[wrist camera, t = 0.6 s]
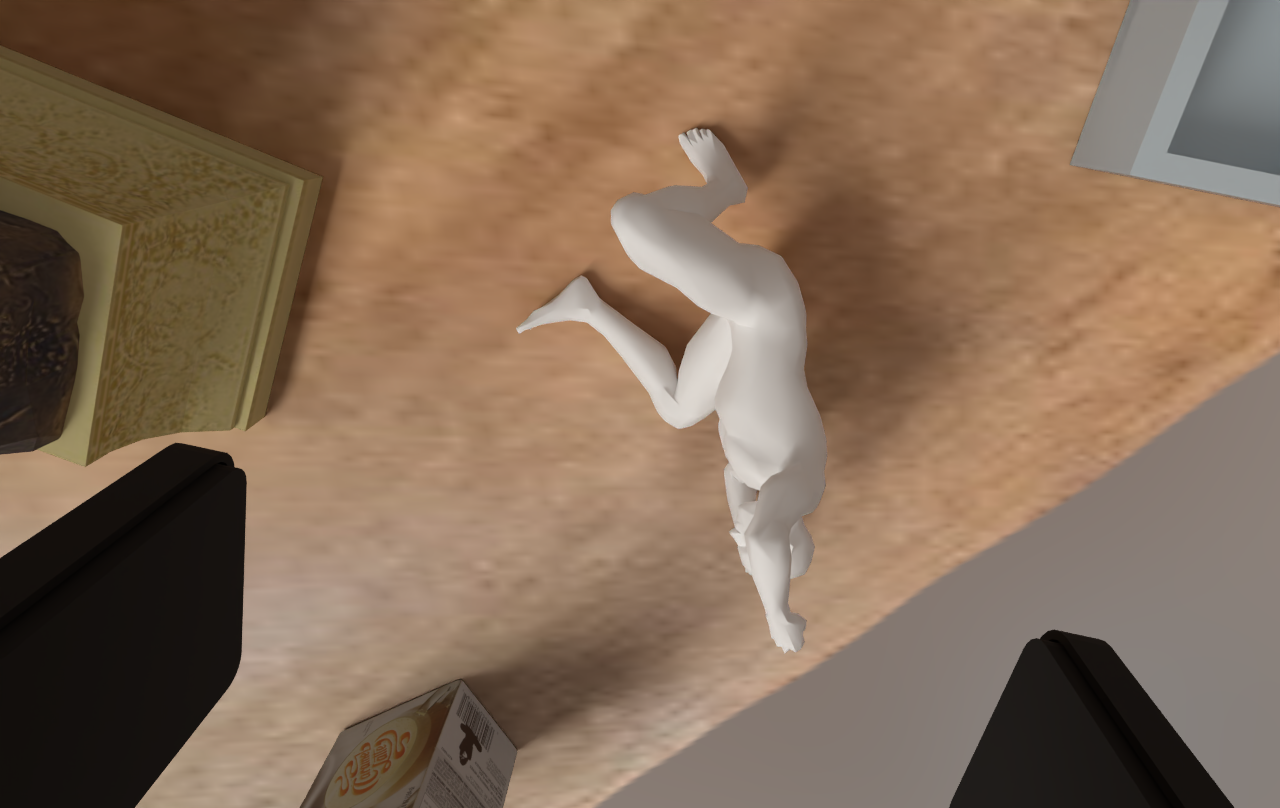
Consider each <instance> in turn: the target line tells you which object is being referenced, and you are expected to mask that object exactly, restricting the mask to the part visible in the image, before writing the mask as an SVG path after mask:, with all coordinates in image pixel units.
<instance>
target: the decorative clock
mask: <svg viewBox="0 0 1280 808" xmlns="http://www.w3.org/2000/svg"><path fill="white" fill-rule="evenodd" d="M322 178H323V177H322V176H320V175H317V174H315V173H312V172H310V171H307V170H305V169H302V168H300V167H298V166H295V165H293V164H290V163H288V162H285V161H283V160H280V159H278V158H275V157H273V156H271V155H268V154H266V153H263V152H261V151H258V150H256V149H253V148H251V147H249V146H246V145H244V144H241V143H239V142H236V141H234V140H231V139H229V138H226V137H224V136H222V135H219V134H217V133H214V132H212V131H209V130H207V129H204V128H202V127H200V126H197V125H195V124H192V123H190V122H187V121H185V120H182V119H180V118H177V117H175V116H173V115H170V114H168V113H165V112H163V111H160V110H158V109H155V108H153V107H150V106H148V105H146V104H143V103H141V102H138V101H136V100H133V99H131V98H128V97H126V96H124V95H121V94H119V93H116V92H114V91H111V90H109V89H106V88H104V87H101V86H99V85H97V84H94V83H92V82H89V81H87V80H84V79H82V78H79V77H77V76H75V75H72V74H70V73H67V72H65V71H62V70H60V69H57V68H55V67H52V66H50V65H48V64H45V63H43V62H40V61H38V60H35V59H33V58H30V57H28V56H26V55H23V54H21V53H18V52H16V51H13V50H11V49H8V48H6V47H3V46H1V45H0V454H10V453H20V452H31V451H34V450H40V451H43V452H46V453H48V454H51V455H54V456H56V457H59V458H62V459H65V460H67V461H70V462H73V463H75V464H78V465H81V466H84V467H86V466H88V465H89V464H91V463H93V462H94V461H96V460H98V459H99V458H101V457H103V456H104V455H106V454H107V453H109V452H111V451H114V450H116V449H119V448H121V447H124V446H127V445H129V444H132V443H135V442H137V441H140V440H142V439H148V438H153V437H158V436H164V435H169V434H174V433H180V432H200V431H226V430H231V429H233V428H234V427H235V428H238V429H240V430H243V431H246V430H248V429H249V428H250V427H252V426H253V425H254V424H256V423H257V422H258V421H260V420H261V419H262V418H264V417H265V413H266V409H267V405H268V400H269V396H270V392H271V388H272V384H273V380H274V376H275V372H276V368H277V363H278V359H279V355H280V351H281V347H282V343H283V339H284V335H285V331H286V326H287V322H288V318H289V314H290V310H291V306H292V302H293V298H294V294H295V289H296V285H297V281H298V277H299V273H300V269H301V265H302V261H303V257H304V252H305V248H306V244H307V240H308V236H309V232H310V228H311V224H312V220H313V215H314V211H315V207H316V203H317V199H318V195H319V191H320V187H321V183H322Z"/></svg>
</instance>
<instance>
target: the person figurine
mask: <svg viewBox="0 0 1280 808" xmlns="http://www.w3.org/2000/svg"><path fill="white" fill-rule="evenodd" d="M692 131H693V132H692ZM699 131H700V133H699ZM699 131H698V128H695V129H693V130H689V131H688V132H687V135H688V137H687V136H686V134H685V133H682V134H680V135H679V141H680V144H681V146H682V148H683V149H684V151H685V152H686V154H687V156H688V158H689V159H690V161H691V162H692V164H693V165H694V166H695V167H696V168H697V169H698V170H699V171H700V173H701V174H702V175H703V177H704V179H705V181H706V182H707V184H706V185H704V186H702V187H696V186H678V185H674V186H668V187H666V188H663V189H660V190H657V191H654V192H651V193H649V194H646V195H644V194H640V193H636V192H633V193H631V194H629V195H627V196H625V197H623V198H621V199H619V200H617V202H616V203H615V205H614V206H613V208H612V209H611V225H612V227H613V229H614V230H615V232H616V234H617V236H618V238H619V240H620V242H621V244H622V246H623V248H624V250H625V252H626V253H627V255H628V257H629V258H630V259H631V260H632V261H633V262H634V263H635V264H636V265H637V266H638V267H639V268H640V269H641V270H643V271H645V272H647V273H649V274H651V275H653V276H655V277H657V278H659V279H661V280H662V281H664V282H666V283H668V284H670V285H672V286H674V287H676V288H677V289H679V290H680V291H681V292H682V293H683V294H684V295H686V296H687V297H688V298H689V299H690V300H691V301H692V302H694V303H695V304H696V305H697V306H699V307H700V308H702V309H704V310H706V311H708V312H710V313H711V314H710V315H709V316H708V318H707V319H706V320H705V322H704V323H703V324H702V326H701V327H700V328H699V330H698V331H697V332H696V333H695V335H694V336H693V337H692V339H691V340H690V341H689V343H688V344H687V347H686V350H685V353H684V356H683V359H682V362H681V366H680V369H679V374H678V379H677V372H676V366H675V364H674V362H673V360H672V358H671V356H670V354H669V352H668V350H667V348H666V347H665V346H664V345H663V344H661V343H660V342H658V341H657V340H656V339H654V338H653V337H651V336H650V335H649V334H647V333H646V332H644V331H643V330H642V329H640V328H639V327H637V326H636V325H635V324H633V323H632V322H630V321H629V320H628V319H627V318H625V317H624V316H623V315H621V314H620V313H619V312H617V311H616V310H615V309H613V308H612V307H611V306H609V305H608V304H607V303H605V302H604V301H603V300H602V299H600V298H599V297H598V295H597V293H596V292H595V290H594V289H593V287H592V286H591V284H590V282H589V281H588V279H587V278H585V277H583V276H581V275H580V276H579V277H577V278H575V279H574V280H572V281H571V283H570V284H569V285H568V286H567V287H566V288H565V289H564V290H563V291H562V292H561V293H560V294H559V295H557V296H556V297H555V298H553V299H552V300H551V301H549V302H548V303H547V304H545V305H544V306H543V307H541V308H539V309H537V310H535V311H533V312H532V313H531V315H530V316H529V317H528V318H527V320H525V321H524V322H523V323H521V324H520V325H519V326H518V327H517V328H516V330H517V331H518V333H519V334H520V333H522V332H523V331H525V330H526V329H531V328H533V327H536V326H539V325H542V324H547V323H554V322H561V321H568V320H572V321H580V322H587V323H588V324H589V325H591V326H592V327H593V328H595V329H596V330H597V331H599V332H600V333H601V334H602V335H604V336H605V337H606V339H607V340H608V341H609V342H610V343H611V345H612V346H613V347H614V348H615V350H616V351H617V352H618V353H619V354H620V356H621V357H622V358H623V360H624V361H625V362H626V364H627V365H628V366H629V368H630V369H631V370H632V371H633V373H634V374H635V375H636V377H637V378H638V379H639V381H640V382H641V383H642V385H643V386H644V387H645V389H646V390H647V391H648V393H649V395H650V397H651V399H652V401H653V404H654V406H655V408H656V410H657V412H658V414H659V415H660V416H661V417H662V418H663V419H664V420H665V421H666V422H667V423H669V424H671V425H672V426H674V427H676V428H678V429H681V428H685V427H690V426H692V425H694V424H696V423H697V422H699V421H701V420H702V419H704V418H705V417H707V416H708V415H709V414H711V413H712V412H713V411H715V410H716V411H717V413H718V416H719V418H720V420H719V424H718V427H719V434H720V438H721V442H722V446H723V449H724V451H725V456H726V457H727V459H728V461H729V463H728V464H727V466H726V467H725V468H724V477H725V485H726V492H727V500H728V504H729V507H730V511H731V515H732V518H733V522H734V526H735V528H733V529H732V530H731V531H729V533H730V534H731V535H732V537H733V538H734V539H735V541H736V543H737V544H738V547H737V548H738V551H739V555H740V558H741V561H742V564H743V566H744V567H745V571H746V572H749V575H752V576H753V579H754V582H755V584H756V587H757V589H758V592H759V594H760V597H761V600H762V602H763V605H764V608H765V611H766V614H765V615H766V618H767V621H768V624H769V628H770V633H771V637H772V639H773V638H774V640H775V643H776V645H777V647H782V649H783V651H784V653H786V652H788V651H789V650H790V649H791V650H793V651H794V652H797V651H798V650H800V649H801V648H802V646H803V644H804V638H803V631H804V630H805V627H806V622H807V620H806V619H805V618H803V617H802V616H801V615H799V614H798V613H793V612H790V609H789V605H788V597H789V587H790V579H792V578H795V577H798V576H801V575H804V574H805V573H806V571H807V569H808V567H809V565H810V563H811V561H812V556H813V552H814V548H815V546H814V543H813V539H812V536H811V534H810V533H809V531H808V529H807V528H806V526H805V524H804V522H803V519H802V516H804V515H807V514H810V513H812V512H813V511H814V510H815V509H816V508H817V506H818V504H819V502H820V500H821V497H822V495H823V492H824V489H825V486H826V483H825V475H824V470H825V465H826V460H827V440H826V436H825V431H824V427H823V424H822V420H821V416H820V414H819V412H818V409H817V407H816V405H815V403H814V401H813V398H812V396H811V394H810V392H809V390H808V387H807V382H806V377H805V371H804V365H805V358H806V351H807V334H806V310H805V305H804V301H803V298H802V294H801V291H800V287H799V284H798V281H797V280H796V278H795V277H794V275H793V273H792V272H791V270H790V269H789V267H788V265H787V264H786V262H785V261H784V259H783V258H782V256H780V255H778V254H776V253H774V252H772V251H770V250H768V249H766V248H763V247H761V246H759V245H752V244H743V243H738V242H737V241H735V240H734V239H733V238H731V237H730V236H728V235H727V234H726V233H724V232H723V231H722V230H720V229H719V228H717V227H716V226H715V225H713V224H712V223H711V222H713V221H714V220H715V219H716V218H717V217H718V216H719V215H720V214H721V213H722V212H723V211H724V210H725V209H726V208H727V207H728V206H730V205H735V204H740V203H745V198H746V194H747V189H748V187H747V185H746V183H745V182H744V180H743V178H742V176H741V175H740V173H739V171H738V169H737V168H736V166H735V164H734V162H733V160H732V159H731V157H730V155H729V153H728V151H727V150H726V148H725V146H724V144H723V143H722V142H721V141H720V140H719V139H718V138H717V137H716V136H715V135H714V134H713V133H712V132H711V131H710V130H709V129H707V130H705V129H701V130H699ZM700 134H701V135H700ZM688 138H689V139H688ZM757 490H760V492H759V496H758V500H757V501H756V493H757Z"/></svg>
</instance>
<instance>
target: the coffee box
mask: <svg viewBox="0 0 1280 808" xmlns="http://www.w3.org/2000/svg"><path fill="white" fill-rule="evenodd" d="M516 755H517V750H516V748H515V747H514V745H513V744H512V743H511V742H510V740H509V739H508V738H507V736H506V735H505V734H504V733H503V731H502V730H501V729H500V728H499V726H498V725H497V724H496V722H495V721H494V720H493V719H492V717H491V716H490V715H489V713H488V712H487V711H486V710H485V708H484V707H483V706H482V705H481V703H480V702H479V701H478V700H477V698H476V697H475V696H474V695H473V693H472V692H471V691H470V689H469V688H468V687H467V686H466V684H465V683H464V682H463V681H462V680H457V681H454V682H452V683H450V684H447V685H445V686H443V687H441V688H438V689H436V690H434V691H432V692H429V693H427V694H425V695H423V696H420V697H418V698H416V699H414V700H412V701H409V702H407V703H405V704H402V705H400V706H398V707H396V708H393V709H391V710H389V711H387V712H384V713H382V714H380V715H378V716H376V717H373V718H371V719H369V720H367V721H364V722H362V723H360V724H358V725H355V726H353V727H351V728H349V729H347V730H344V731H342V732H341V733H340V734H339V736H338V738H337V740H336V742H335V744H334V746H333V747H332V749H331V751H330V753H329V755H328V756H327V758H326V760H325V762H324V764H323V766H322V768H321V769H320V771H319V773H318V775H317V777H316V778H315V780H314V782H313V784H312V786H311V788H310V790H309V792H308V794H307V796H306V798H305V799H304V801H303V803H302V804H301V806H300V808H503V805H504V802H505V797H506V794H507V790H508V786H509V782H510V778H511V774H512V771H513V767H514V763H515V758H516Z"/></svg>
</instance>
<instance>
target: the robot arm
mask: <svg viewBox="0 0 1280 808" xmlns="http://www.w3.org/2000/svg"><path fill="white" fill-rule="evenodd" d="M246 485H247V482H246V475H245V472H244V471H243V470H242V469H239V468H235V467H234V462H233V459H232V457H231V456H230V455H229V454H228V453H225V452H220V451H215V450H211V449H206V448H201V447H196V446H192V445H187V444H182V443H174V444H172V445H170V446H168V447H166V448H165V449H163V450H162V451H160V452H159V453H157V454H156V455H154V456H153V457H151V458H150V459H148V460H147V461H145V462H144V463H142V464H141V465H139V466H138V467H136V468H135V469H133V470H132V471H130V472H129V473H127V474H126V475H124V476H123V477H121V478H120V479H118V480H117V481H115V482H114V483H112V484H111V485H109V486H108V487H106V488H105V489H103V490H102V491H100V492H99V493H97V494H96V495H94V496H93V497H91V498H90V499H88V500H87V501H85V502H84V503H82V504H81V505H79V506H78V507H76V508H75V509H73V510H72V511H70V512H69V513H67V514H66V515H64V516H63V517H61V518H60V519H58V520H57V521H55V522H54V523H52V524H51V525H49V526H48V527H46V528H45V529H43V530H42V531H40V532H39V533H37V534H36V535H34V536H33V537H31V538H30V539H28V540H27V541H25V542H24V543H22V544H21V545H19V546H18V547H16V548H15V549H13V550H12V551H10V552H9V553H7V554H6V555H4V556H3V557H1V558H0V808H135V807H136V805H137V804H138V803H139V801H140V800H141V799H142V798H143V796H144V795H145V794H146V792H147V791H148V790H149V789H150V787H151V786H152V785H153V784H154V782H155V781H156V780H157V778H158V777H159V776H160V775H161V773H162V772H163V771H164V770H165V768H166V767H167V766H168V764H169V763H170V762H171V761H172V759H173V758H174V757H175V755H176V754H177V753H178V752H179V750H180V749H181V748H182V747H183V745H184V744H185V743H186V741H187V740H188V739H189V738H190V736H191V735H192V734H193V732H194V731H195V730H196V729H197V727H198V726H199V725H200V724H201V722H202V721H203V720H204V718H205V717H206V716H207V715H208V713H209V712H210V711H211V709H212V708H213V707H214V706H215V704H216V703H217V702H218V701H219V699H220V698H221V697H222V695H223V694H224V693H225V692H226V690H227V689H228V688H229V686H230V685H231V683H232V681H233V679H234V677H235V675H236V673H237V670H238V668H239V664H240V660H241V652H242V619H243V586H244V552H245V519H246ZM949 808H1234V806H1233V805H1232V804H1231V803H1230V801H1229V800H1228V799H1227V797H1226V796H1225V795H1224V794H1223V792H1222V791H1221V790H1220V788H1219V787H1218V786H1217V785H1216V783H1215V782H1214V780H1213V779H1212V778H1211V777H1210V775H1209V774H1208V773H1207V771H1206V770H1205V769H1204V767H1203V766H1202V765H1201V763H1200V762H1199V761H1198V760H1197V758H1196V757H1195V756H1194V754H1193V753H1192V752H1191V750H1190V749H1189V748H1188V747H1187V745H1186V744H1185V743H1184V742H1183V740H1182V739H1181V737H1180V736H1179V735H1178V733H1176V731H1175V730H1174V728H1173V727H1172V726H1171V724H1170V723H1169V722H1168V720H1167V719H1166V718H1165V717H1164V715H1163V714H1162V713H1161V711H1160V710H1159V709H1158V708H1157V706H1156V705H1155V703H1154V702H1153V701H1152V700H1151V698H1150V697H1149V696H1148V694H1147V693H1146V692H1145V690H1144V689H1143V688H1142V687H1141V685H1140V684H1139V683H1138V681H1137V680H1136V679H1135V677H1134V676H1133V675H1132V673H1130V671H1129V670H1128V668H1127V667H1126V666H1125V664H1124V663H1123V662H1122V660H1121V659H1120V658H1119V657H1118V655H1117V654H1116V653H1115V651H1114V650H1113V649H1112V647H1111V646H1110V645H1108V644H1107V643H1106V642H1105V641H1103V640H1100V639H1096V638H1091V637H1086V636H1082V635H1077V634H1072V633H1068V632H1063V631H1058V630H1051V631H1048V632H1046V633H1045V634H1044V635H1043V636H1042V637H1041V638H1040V639H1037V638H1036V639H1032V640H1030V641H1029V642H1028V643H1027V644H1026V646H1025V648H1024V649H1023V651H1022V653H1021V655H1020V657H1019V660H1018V662H1017V664H1016V666H1015V668H1014V670H1013V672H1012V674H1011V677H1010V679H1009V681H1008V683H1007V685H1006V687H1005V689H1004V691H1003V693H1002V695H1001V698H1000V700H999V702H998V704H997V706H996V708H995V710H994V712H993V714H992V717H991V719H990V721H989V723H988V725H987V727H986V729H985V731H984V734H983V736H982V738H981V740H980V742H979V744H978V746H977V748H976V750H975V752H974V754H973V757H972V759H971V761H970V763H969V765H968V767H967V769H966V771H965V773H964V776H963V778H962V780H961V782H960V784H959V786H958V788H957V790H956V792H955V795H954V797H953V799H952V801H951V804H950V807H949Z"/></svg>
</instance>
